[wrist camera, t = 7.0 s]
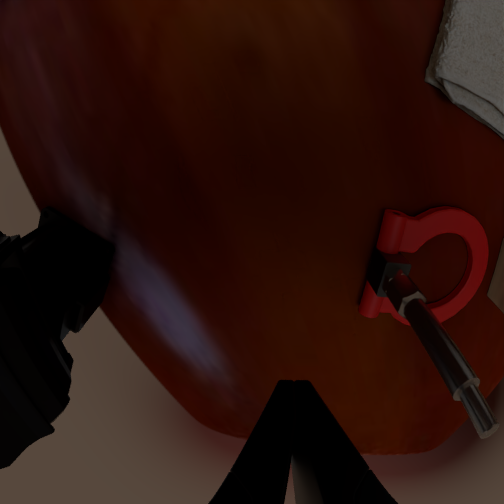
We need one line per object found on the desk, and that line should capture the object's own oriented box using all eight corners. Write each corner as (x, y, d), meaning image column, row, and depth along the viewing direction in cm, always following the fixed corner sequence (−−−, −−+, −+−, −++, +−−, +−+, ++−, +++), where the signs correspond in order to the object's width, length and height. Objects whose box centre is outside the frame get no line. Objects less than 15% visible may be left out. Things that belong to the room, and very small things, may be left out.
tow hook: (493, 214, 18) (382, 190, 18) (628, 314, 6) (549, 328, 5) (455, 318, 22) (350, 316, 22) (541, 444, 9) (415, 495, 9)
